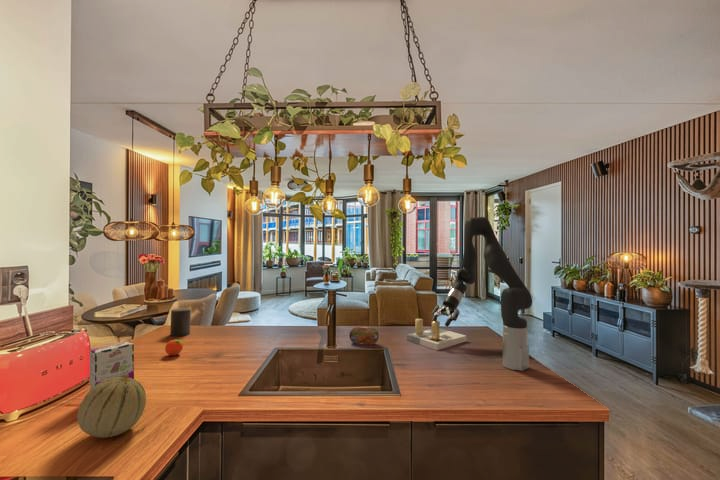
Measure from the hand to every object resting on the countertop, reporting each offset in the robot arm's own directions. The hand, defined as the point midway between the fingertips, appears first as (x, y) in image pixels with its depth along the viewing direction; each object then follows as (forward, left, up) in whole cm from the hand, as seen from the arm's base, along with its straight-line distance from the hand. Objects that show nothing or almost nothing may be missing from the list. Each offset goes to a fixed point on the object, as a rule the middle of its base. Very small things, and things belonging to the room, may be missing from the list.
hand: (439, 324), depth 167 cm
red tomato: (+61, +110, -11) cm, 126 cm away
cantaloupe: (+3, +133, -11) cm, 133 cm away
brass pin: (0, +3, -10) cm, 11 cm away
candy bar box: (+30, +133, -11) cm, 137 cm away
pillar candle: (+97, +102, -11) cm, 141 cm away
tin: (+24, +30, -11) cm, 40 cm away
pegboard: (+5, -4, -10) cm, 12 cm away
